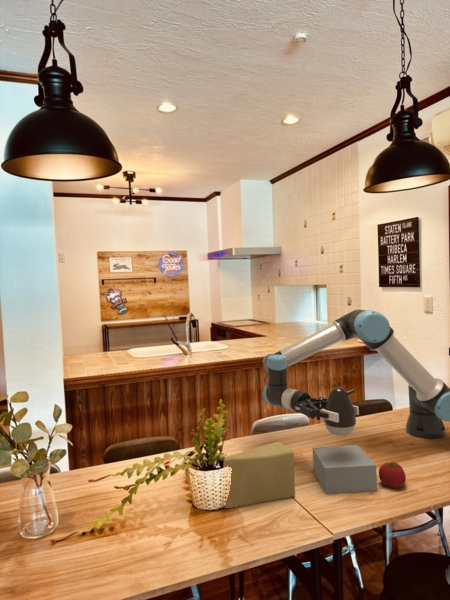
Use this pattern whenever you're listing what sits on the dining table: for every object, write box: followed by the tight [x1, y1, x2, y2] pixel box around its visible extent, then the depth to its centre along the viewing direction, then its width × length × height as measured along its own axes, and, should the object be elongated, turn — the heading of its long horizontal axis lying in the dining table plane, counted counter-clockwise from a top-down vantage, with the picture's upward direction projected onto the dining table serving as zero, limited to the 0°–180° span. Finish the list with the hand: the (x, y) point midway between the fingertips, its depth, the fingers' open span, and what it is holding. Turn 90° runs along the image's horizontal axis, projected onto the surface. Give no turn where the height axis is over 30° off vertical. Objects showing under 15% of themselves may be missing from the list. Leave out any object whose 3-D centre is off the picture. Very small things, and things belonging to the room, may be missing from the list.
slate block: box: [312, 444, 378, 495], centre depth 130 cm, size 16×16×8 cm
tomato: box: [378, 461, 407, 489], centre depth 125 cm, size 8×8×7 cm
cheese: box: [222, 441, 296, 509], centre depth 120 cm, size 22×10×15 cm, turn 112°
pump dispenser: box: [323, 386, 357, 437], centre depth 129 cm, size 10×10×15 cm
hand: (348, 414), depth 127 cm, fingers closed on pump dispenser, 10 cm apart
